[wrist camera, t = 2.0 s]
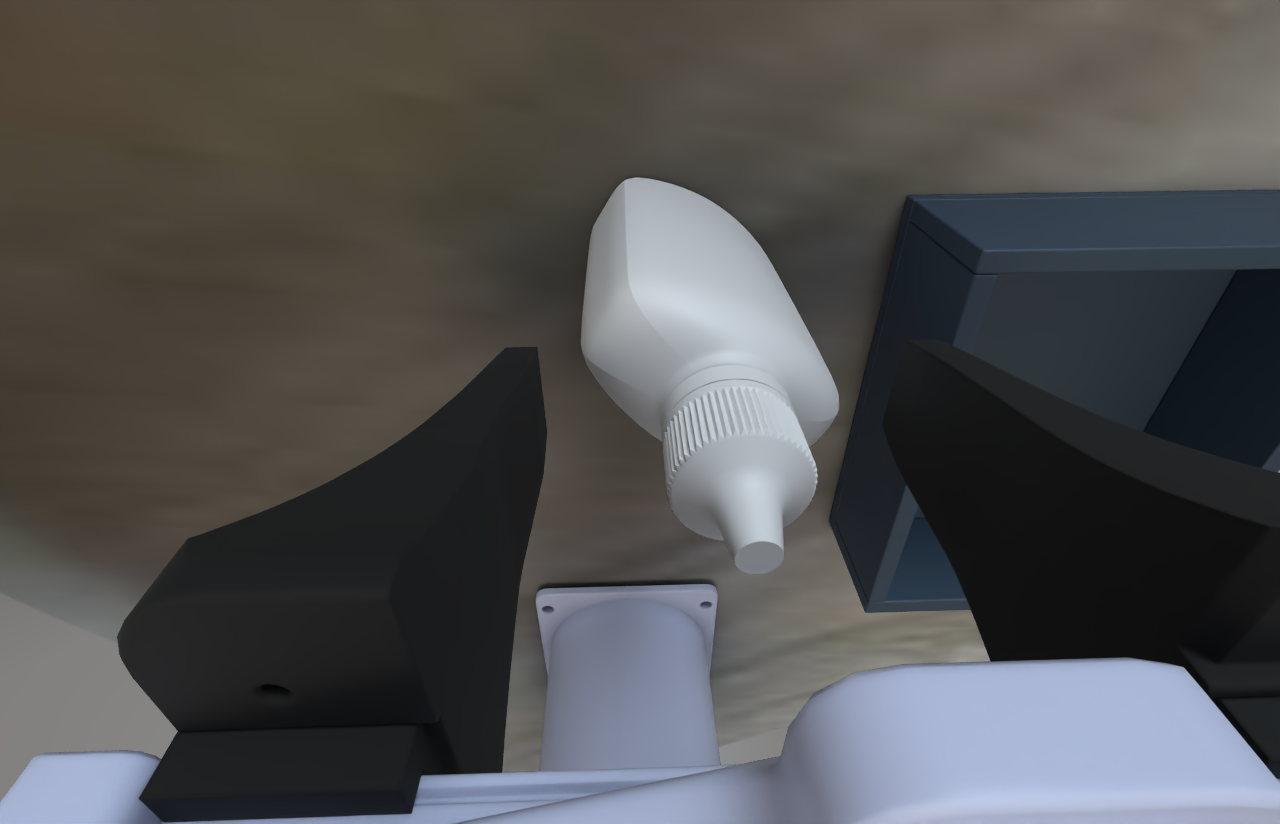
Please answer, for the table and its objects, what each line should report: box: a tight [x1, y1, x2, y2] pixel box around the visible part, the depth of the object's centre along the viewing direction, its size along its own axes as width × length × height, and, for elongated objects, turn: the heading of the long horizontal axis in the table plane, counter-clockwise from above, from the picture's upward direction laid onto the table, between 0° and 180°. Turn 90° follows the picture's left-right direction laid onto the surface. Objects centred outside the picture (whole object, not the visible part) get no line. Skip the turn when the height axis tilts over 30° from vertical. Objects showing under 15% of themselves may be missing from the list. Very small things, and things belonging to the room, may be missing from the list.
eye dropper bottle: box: [581, 177, 839, 575], centre depth 14 cm, size 4×6×12 cm
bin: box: [829, 190, 1280, 613], centre depth 20 cm, size 13×11×4 cm
